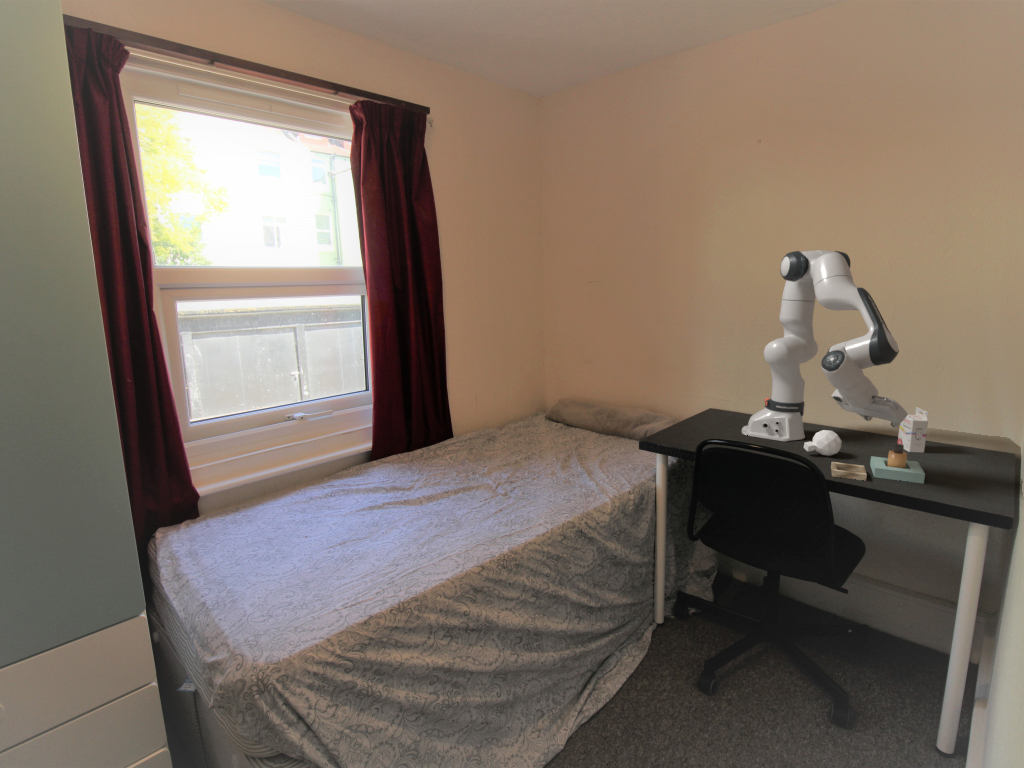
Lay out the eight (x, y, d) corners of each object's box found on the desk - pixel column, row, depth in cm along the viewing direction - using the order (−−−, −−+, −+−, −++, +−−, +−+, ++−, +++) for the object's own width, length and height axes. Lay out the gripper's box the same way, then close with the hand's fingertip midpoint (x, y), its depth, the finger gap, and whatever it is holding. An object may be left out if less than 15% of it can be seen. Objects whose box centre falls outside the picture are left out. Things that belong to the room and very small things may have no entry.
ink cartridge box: (896, 445, 190) (900, 405, 188) (911, 445, 189) (916, 406, 187) (908, 452, 182) (913, 411, 179) (924, 453, 181) (930, 412, 178)
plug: (887, 475, 162) (890, 445, 160) (885, 470, 166) (888, 441, 164) (905, 477, 160) (909, 447, 158) (903, 472, 164) (906, 443, 162)
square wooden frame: (832, 476, 162) (832, 470, 161) (830, 467, 169) (831, 461, 169) (866, 481, 157) (866, 474, 157) (863, 471, 165) (863, 465, 165)
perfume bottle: (828, 444, 187) (796, 449, 187) (833, 423, 183) (800, 428, 182) (845, 458, 180) (811, 464, 179) (850, 437, 175) (816, 442, 175)
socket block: (874, 477, 160) (875, 467, 160) (870, 464, 171) (871, 456, 170) (923, 483, 155) (925, 474, 154) (916, 470, 165) (917, 461, 164)
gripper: (898, 391, 149) (922, 422, 153) (838, 381, 169) (861, 408, 173) (884, 408, 149) (908, 438, 153) (826, 395, 169) (848, 422, 172)
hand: (882, 422), depth 163 cm, fingers open, 8 cm apart
